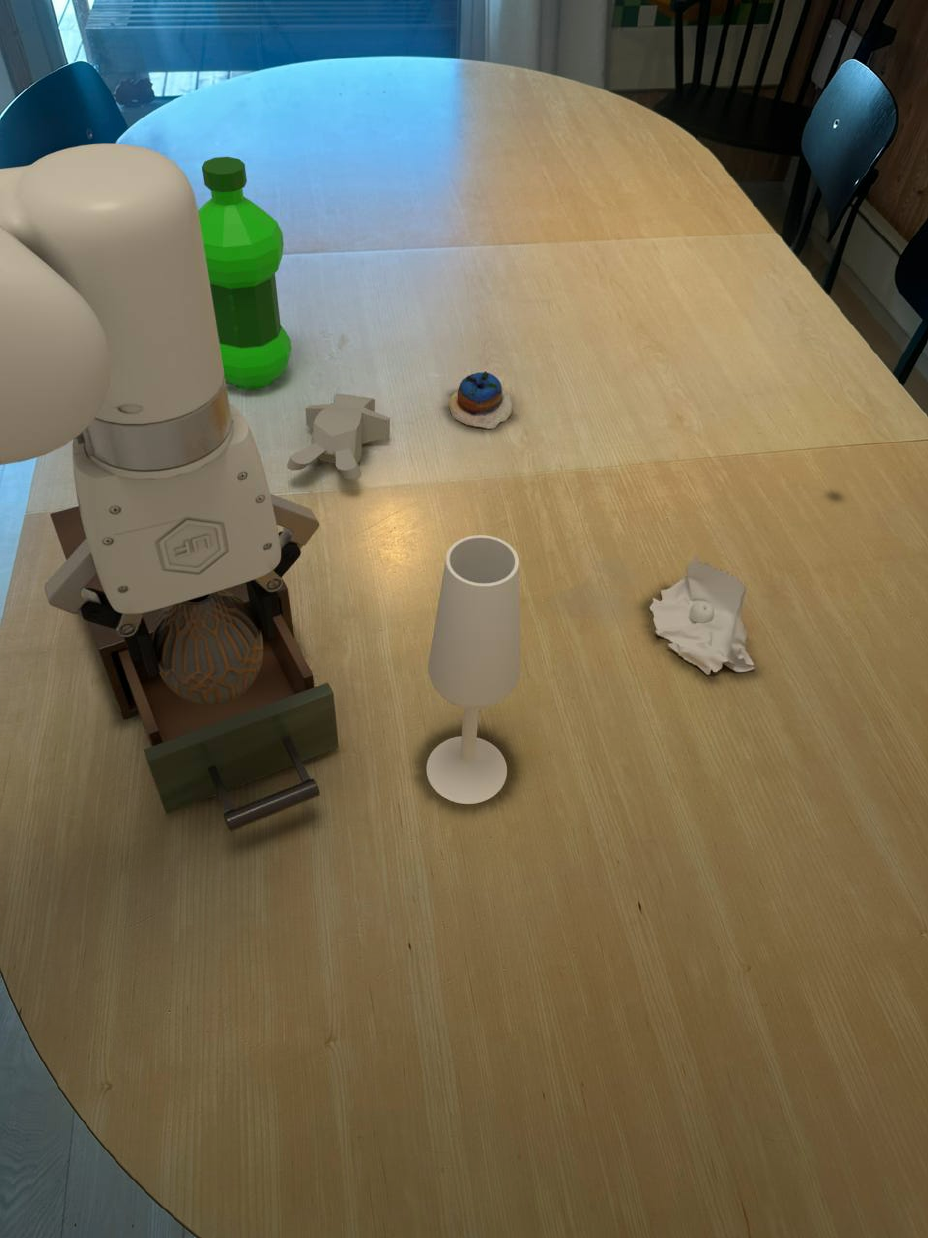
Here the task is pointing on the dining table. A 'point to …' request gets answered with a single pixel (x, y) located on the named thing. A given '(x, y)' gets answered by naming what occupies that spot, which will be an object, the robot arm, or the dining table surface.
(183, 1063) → the dining table surface
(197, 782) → the drawer
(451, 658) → the champagne flute
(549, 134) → the dining table surface
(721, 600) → the fabric
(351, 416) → the bunny figurine
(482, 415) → the dessert
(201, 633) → the vase
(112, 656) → the cabinet
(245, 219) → the plastic bottle
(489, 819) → the dining table surface
